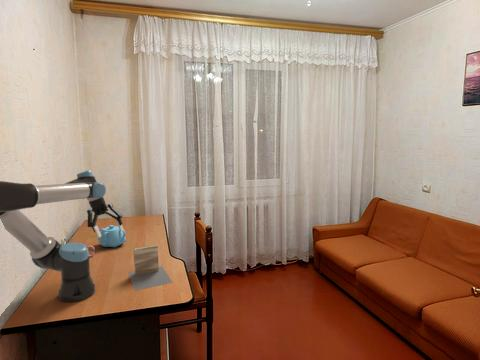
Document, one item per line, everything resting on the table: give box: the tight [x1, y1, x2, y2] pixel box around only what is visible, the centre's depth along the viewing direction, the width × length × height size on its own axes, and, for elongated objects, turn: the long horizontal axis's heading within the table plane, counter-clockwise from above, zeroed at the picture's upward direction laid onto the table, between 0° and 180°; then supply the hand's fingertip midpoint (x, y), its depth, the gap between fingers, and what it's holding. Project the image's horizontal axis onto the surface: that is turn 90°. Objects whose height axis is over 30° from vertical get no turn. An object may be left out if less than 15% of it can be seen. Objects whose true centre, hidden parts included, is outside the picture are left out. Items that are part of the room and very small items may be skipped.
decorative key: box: [87, 245, 95, 258], centre depth 190 cm, size 7×1×20 cm
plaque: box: [133, 244, 160, 275], centre depth 167 cm, size 2×12×14 cm, turn 117°
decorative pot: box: [97, 224, 127, 248], centre depth 211 cm, size 16×16×14 cm
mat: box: [128, 265, 173, 291], centre depth 162 cm, size 22×18×1 cm
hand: (110, 233), depth 173 cm, fingers open, 13 cm apart
